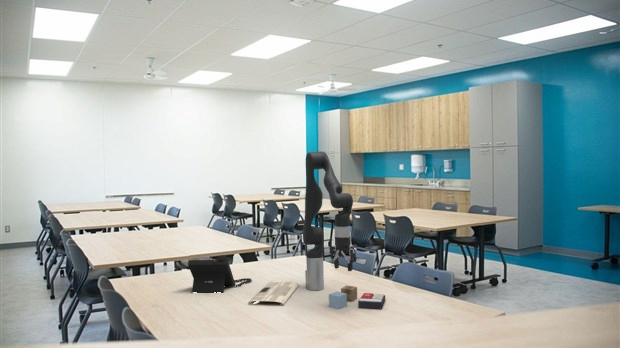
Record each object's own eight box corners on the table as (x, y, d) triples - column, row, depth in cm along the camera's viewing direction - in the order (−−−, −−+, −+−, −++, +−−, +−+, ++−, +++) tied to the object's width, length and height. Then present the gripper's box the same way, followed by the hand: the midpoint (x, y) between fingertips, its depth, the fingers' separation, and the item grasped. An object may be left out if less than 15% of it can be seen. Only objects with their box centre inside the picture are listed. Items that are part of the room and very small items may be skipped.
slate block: (329, 306, 213) (328, 294, 213) (337, 303, 218) (337, 291, 217) (338, 309, 209) (338, 296, 209) (347, 306, 213) (346, 293, 213)
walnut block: (341, 300, 223) (340, 288, 223) (346, 297, 228) (346, 285, 228) (352, 302, 220) (352, 289, 220) (357, 298, 225) (356, 286, 225)
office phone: (253, 280, 267) (252, 246, 267) (241, 294, 239) (240, 256, 238) (205, 280, 270) (204, 247, 270) (188, 294, 242) (186, 256, 241)
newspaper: (269, 285, 256) (268, 280, 255) (302, 286, 252) (302, 281, 252) (248, 305, 219) (248, 300, 219) (286, 307, 216) (286, 301, 216)
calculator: (385, 293, 221) (381, 300, 207) (385, 302, 221) (381, 310, 207) (363, 292, 224) (357, 299, 210) (363, 300, 224) (358, 308, 210)
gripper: (326, 235, 216) (327, 268, 216) (348, 238, 205) (349, 273, 206) (337, 233, 221) (338, 266, 221) (359, 236, 211) (360, 270, 211)
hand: (343, 269), depth 214 cm, fingers open, 8 cm apart
